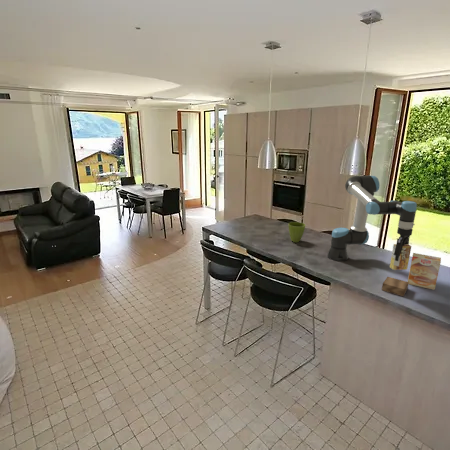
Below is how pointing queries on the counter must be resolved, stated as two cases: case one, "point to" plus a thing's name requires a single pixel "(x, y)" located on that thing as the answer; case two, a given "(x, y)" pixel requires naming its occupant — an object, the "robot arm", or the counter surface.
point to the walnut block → (395, 286)
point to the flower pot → (296, 231)
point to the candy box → (403, 259)
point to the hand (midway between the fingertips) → (399, 263)
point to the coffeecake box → (424, 270)
